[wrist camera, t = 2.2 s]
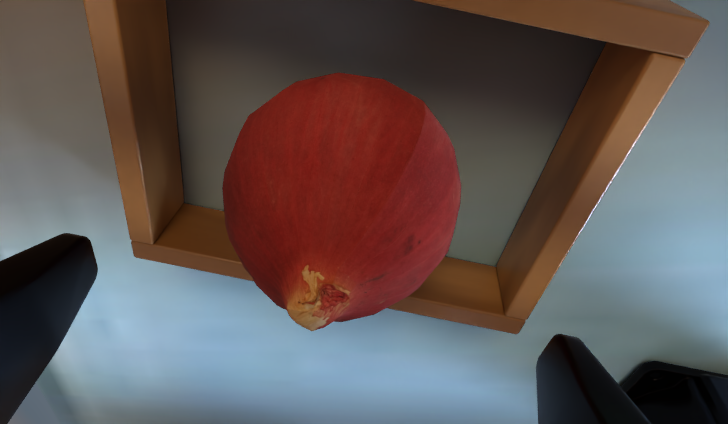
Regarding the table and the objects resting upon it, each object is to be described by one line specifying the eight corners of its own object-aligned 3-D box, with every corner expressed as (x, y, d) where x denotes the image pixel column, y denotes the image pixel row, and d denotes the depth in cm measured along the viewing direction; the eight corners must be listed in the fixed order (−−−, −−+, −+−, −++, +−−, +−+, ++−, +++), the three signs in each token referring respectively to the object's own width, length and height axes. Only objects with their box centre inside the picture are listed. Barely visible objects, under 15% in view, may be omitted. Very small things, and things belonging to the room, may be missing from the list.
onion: (432, 213, 16) (436, 436, 10) (273, 190, 16) (175, 394, 10) (473, 49, 13) (520, 230, 6) (269, 20, 13) (112, 170, 6)
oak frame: (508, 284, 18) (518, 335, 16) (166, 214, 17) (132, 257, 16) (662, -5, 11) (712, 21, 9) (124, -121, 11) (57, -120, 9)
